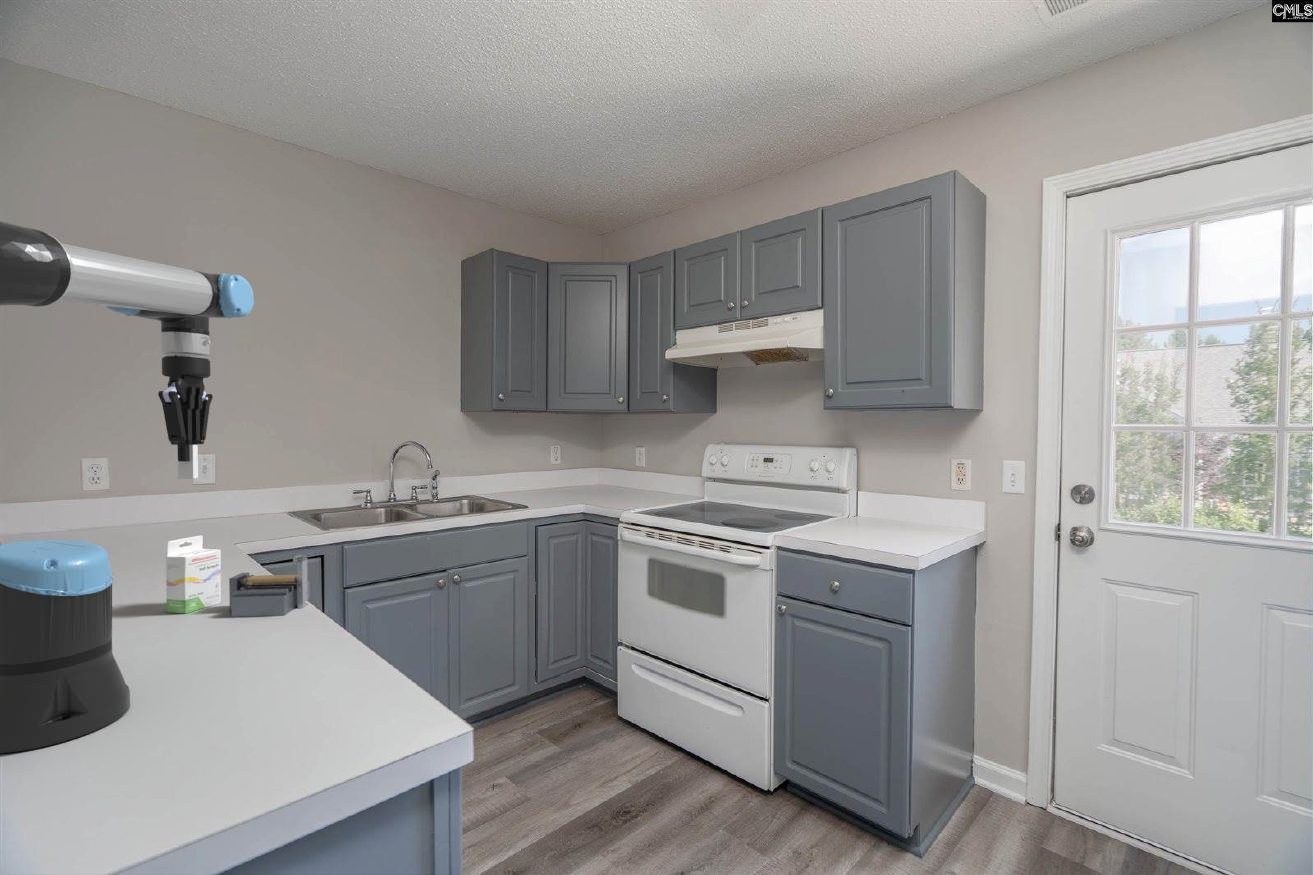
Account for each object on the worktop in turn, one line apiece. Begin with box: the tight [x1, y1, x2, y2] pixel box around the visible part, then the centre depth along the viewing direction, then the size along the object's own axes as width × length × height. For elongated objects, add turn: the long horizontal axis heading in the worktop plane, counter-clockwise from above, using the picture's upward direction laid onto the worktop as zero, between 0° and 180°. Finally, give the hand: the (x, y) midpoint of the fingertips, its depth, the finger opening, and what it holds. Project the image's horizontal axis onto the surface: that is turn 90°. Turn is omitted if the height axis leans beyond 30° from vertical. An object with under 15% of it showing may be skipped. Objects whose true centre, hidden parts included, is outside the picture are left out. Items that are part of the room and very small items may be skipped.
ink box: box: [165, 535, 222, 614], centre depth 132 cm, size 9×5×15 cm, turn 168°
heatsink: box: [228, 554, 311, 618], centre depth 132 cm, size 12×14×11 cm
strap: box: [239, 574, 297, 585], centre depth 132 cm, size 4×11×1 cm, turn 97°
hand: (188, 478), depth 121 cm, fingers closed
